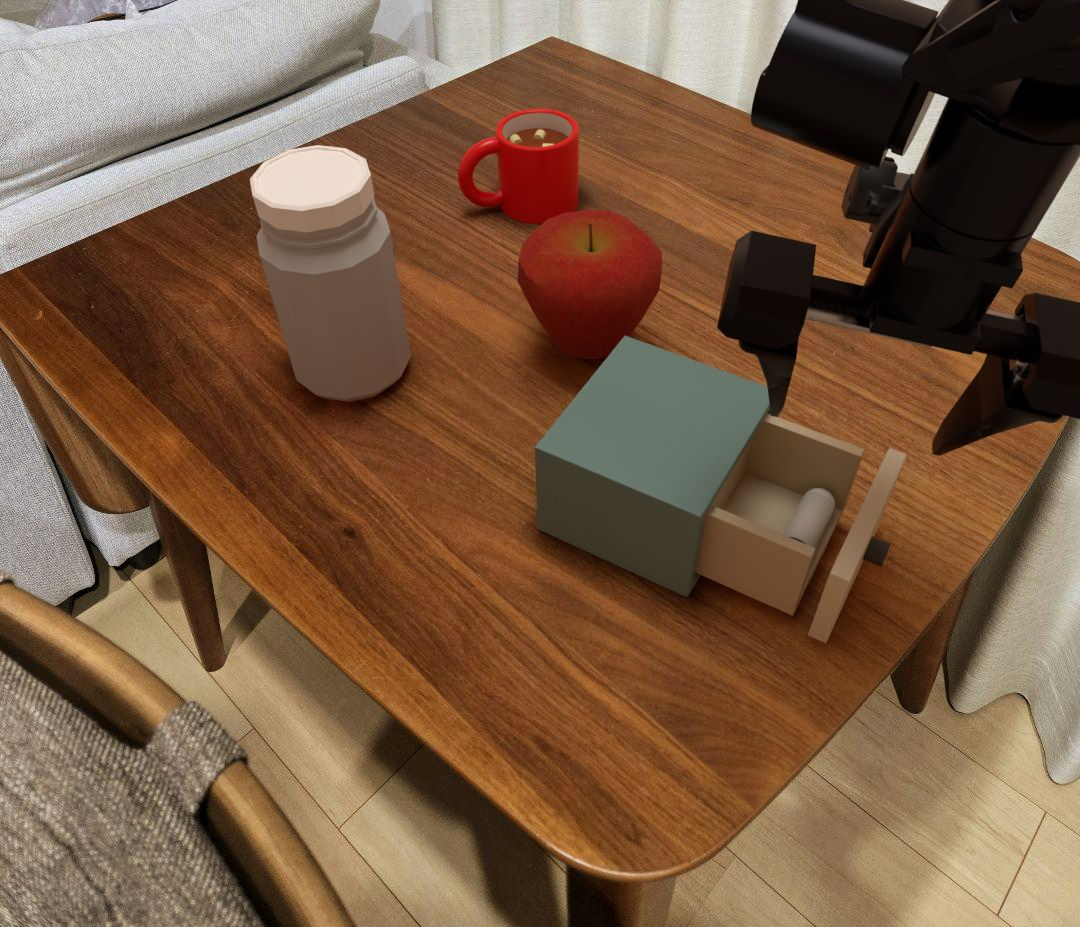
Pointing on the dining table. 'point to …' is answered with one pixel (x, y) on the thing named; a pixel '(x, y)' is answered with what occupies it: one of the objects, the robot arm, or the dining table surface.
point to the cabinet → (645, 459)
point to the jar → (331, 271)
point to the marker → (811, 517)
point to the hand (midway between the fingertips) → (854, 429)
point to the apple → (589, 279)
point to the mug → (528, 166)
